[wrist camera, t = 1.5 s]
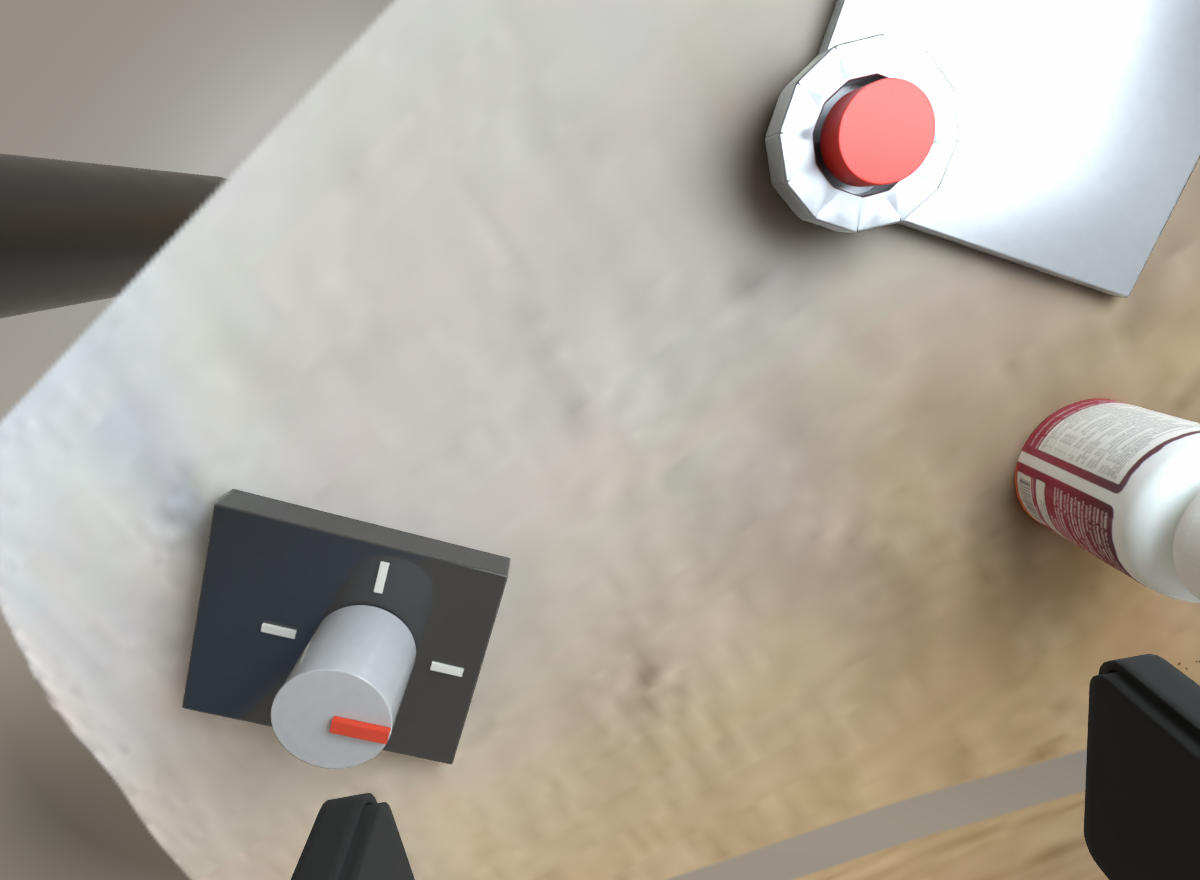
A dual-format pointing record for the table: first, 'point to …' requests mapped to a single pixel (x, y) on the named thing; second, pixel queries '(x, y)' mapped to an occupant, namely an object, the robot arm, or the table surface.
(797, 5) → the table surface
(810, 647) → the table surface
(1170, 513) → the pill bottle
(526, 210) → the table surface
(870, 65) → the block
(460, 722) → the base plate
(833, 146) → the button
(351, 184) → the table surface
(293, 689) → the hob knob
